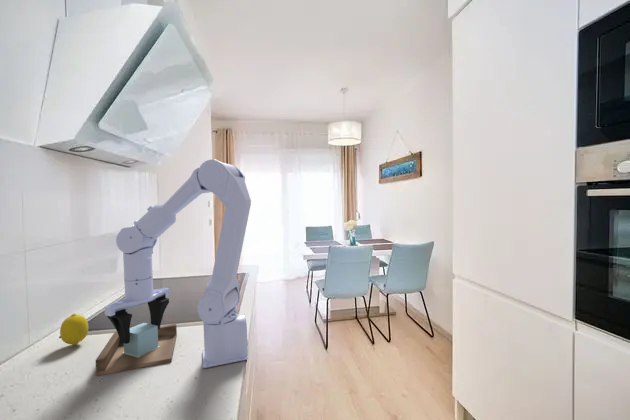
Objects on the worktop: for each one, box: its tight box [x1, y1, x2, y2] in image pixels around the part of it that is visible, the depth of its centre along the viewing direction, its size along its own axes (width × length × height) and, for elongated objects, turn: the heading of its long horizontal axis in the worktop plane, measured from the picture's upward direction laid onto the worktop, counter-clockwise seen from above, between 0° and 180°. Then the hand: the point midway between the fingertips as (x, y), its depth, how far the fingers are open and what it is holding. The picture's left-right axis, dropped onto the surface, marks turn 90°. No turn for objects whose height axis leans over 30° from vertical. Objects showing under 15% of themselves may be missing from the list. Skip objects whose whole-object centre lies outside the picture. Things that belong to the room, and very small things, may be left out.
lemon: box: [59, 313, 89, 346], centre depth 75 cm, size 6×6×8 cm
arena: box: [95, 323, 178, 377], centre depth 70 cm, size 14×14×3 cm
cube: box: [124, 322, 158, 357], centre depth 70 cm, size 5×5×5 cm
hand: (141, 335), depth 70 cm, fingers open, 7 cm apart
